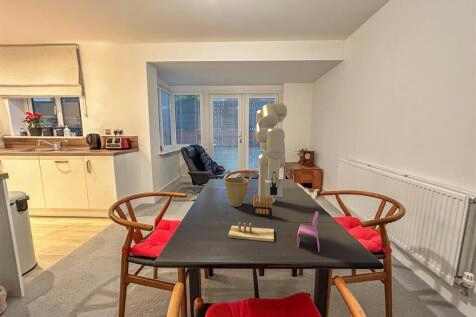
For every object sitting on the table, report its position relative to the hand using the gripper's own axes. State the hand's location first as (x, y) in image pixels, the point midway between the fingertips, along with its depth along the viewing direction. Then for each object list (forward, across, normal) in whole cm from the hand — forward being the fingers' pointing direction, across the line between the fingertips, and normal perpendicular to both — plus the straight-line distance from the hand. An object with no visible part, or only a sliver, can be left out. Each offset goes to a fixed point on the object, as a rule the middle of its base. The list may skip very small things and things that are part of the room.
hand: (273, 192), depth 99 cm
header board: (+17, +8, -10) cm, 22 cm away
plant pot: (+18, -27, -22) cm, 39 cm away
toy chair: (+18, +14, +14) cm, 27 cm away
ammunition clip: (+18, -14, -5) cm, 23 cm away
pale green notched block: (+1, 0, 0) cm, 1 cm away
